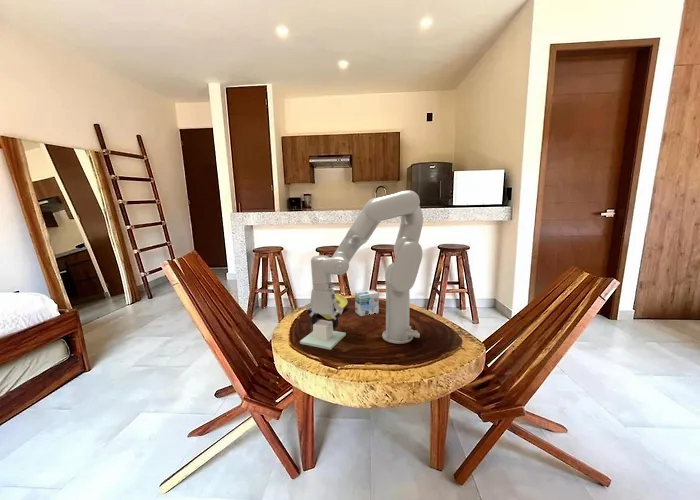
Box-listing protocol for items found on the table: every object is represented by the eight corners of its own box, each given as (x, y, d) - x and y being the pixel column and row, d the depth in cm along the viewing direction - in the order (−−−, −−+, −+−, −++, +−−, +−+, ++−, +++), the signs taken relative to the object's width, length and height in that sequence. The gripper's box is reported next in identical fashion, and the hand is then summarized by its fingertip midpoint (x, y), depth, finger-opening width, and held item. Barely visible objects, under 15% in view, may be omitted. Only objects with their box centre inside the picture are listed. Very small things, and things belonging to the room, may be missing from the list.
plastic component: (331, 316, 146) (315, 305, 149) (326, 328, 149) (310, 316, 152) (350, 301, 162) (335, 291, 166) (346, 311, 166) (331, 302, 169)
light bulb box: (360, 316, 151) (360, 295, 149) (354, 312, 157) (354, 292, 155) (379, 313, 155) (379, 292, 153) (373, 308, 161) (373, 289, 159)
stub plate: (345, 335, 130) (345, 326, 130) (330, 349, 118) (330, 340, 117) (317, 330, 136) (317, 321, 135) (299, 343, 123) (299, 334, 123)
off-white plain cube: (333, 335, 128) (332, 321, 127) (326, 341, 123) (325, 327, 122) (320, 332, 131) (320, 319, 130) (313, 338, 125) (312, 324, 124)
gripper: (345, 285, 123) (347, 325, 126) (308, 282, 130) (311, 320, 133) (337, 290, 116) (339, 332, 119) (298, 287, 123) (302, 327, 126)
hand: (324, 326), depth 126 cm, fingers open, 9 cm apart
